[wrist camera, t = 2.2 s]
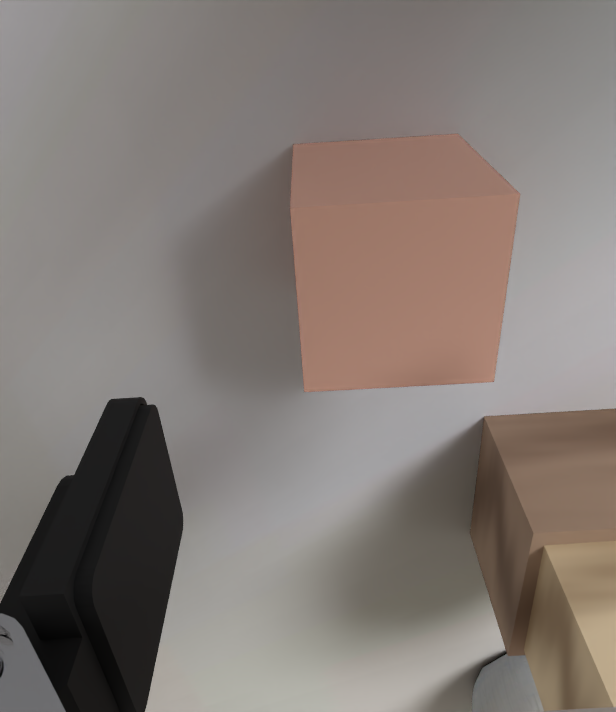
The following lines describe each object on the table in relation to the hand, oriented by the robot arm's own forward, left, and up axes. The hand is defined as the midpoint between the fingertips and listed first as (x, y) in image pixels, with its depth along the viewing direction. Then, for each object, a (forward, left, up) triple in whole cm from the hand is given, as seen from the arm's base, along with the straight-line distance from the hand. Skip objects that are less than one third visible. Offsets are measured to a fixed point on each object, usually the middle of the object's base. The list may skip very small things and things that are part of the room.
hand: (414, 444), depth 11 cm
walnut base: (+11, +8, -11) cm, 18 cm away
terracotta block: (-1, 0, -10) cm, 10 cm away
